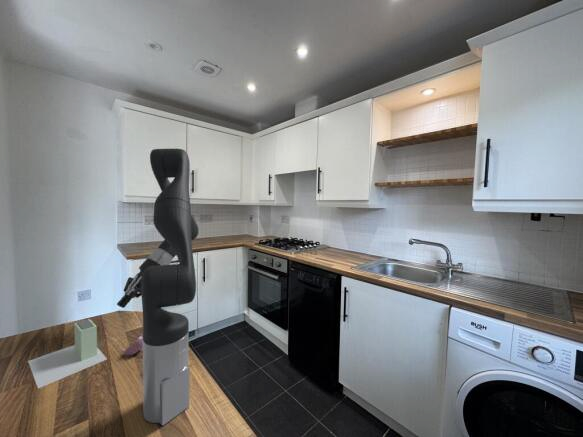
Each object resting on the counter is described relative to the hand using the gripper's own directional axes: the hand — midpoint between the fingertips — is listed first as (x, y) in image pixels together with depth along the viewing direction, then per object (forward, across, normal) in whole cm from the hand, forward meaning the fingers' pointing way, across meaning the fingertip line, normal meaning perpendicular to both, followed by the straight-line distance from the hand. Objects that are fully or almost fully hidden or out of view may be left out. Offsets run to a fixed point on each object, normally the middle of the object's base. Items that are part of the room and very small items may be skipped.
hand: (119, 306), depth 78 cm
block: (+14, 0, +2) cm, 15 cm away
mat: (+18, 0, -1) cm, 18 cm away
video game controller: (+7, +10, +10) cm, 16 cm away
